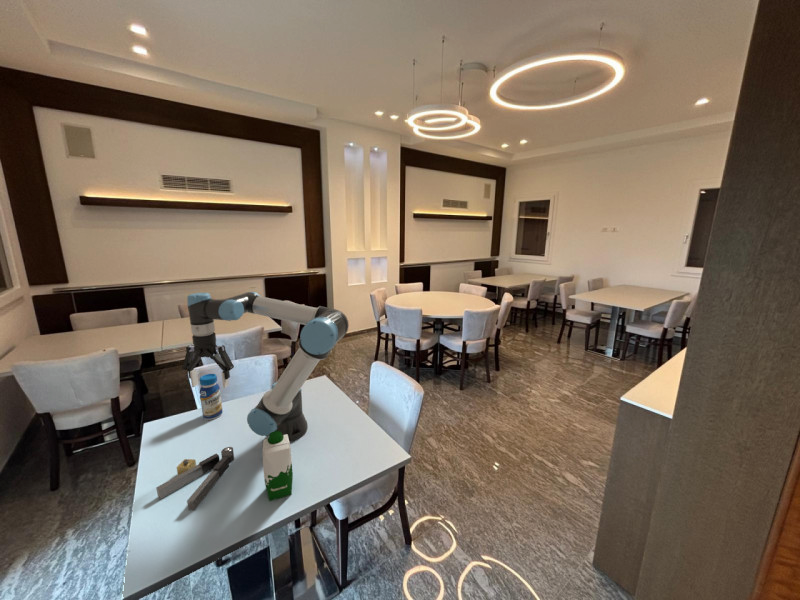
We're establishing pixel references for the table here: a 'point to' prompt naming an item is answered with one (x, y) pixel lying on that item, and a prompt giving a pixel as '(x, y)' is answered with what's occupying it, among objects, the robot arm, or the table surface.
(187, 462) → the block
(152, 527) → the table surface
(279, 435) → the milk carton
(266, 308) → the robot arm
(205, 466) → the tong arm
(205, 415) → the beverage bottle
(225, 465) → the base
